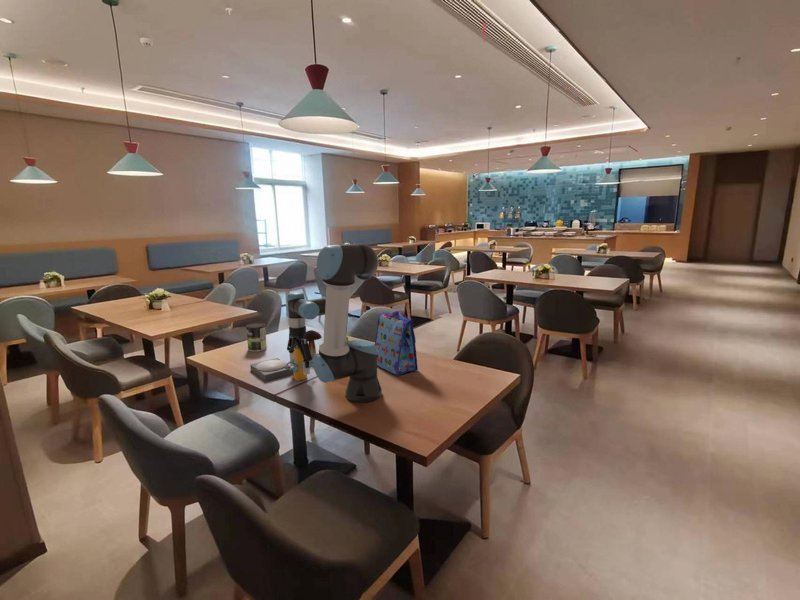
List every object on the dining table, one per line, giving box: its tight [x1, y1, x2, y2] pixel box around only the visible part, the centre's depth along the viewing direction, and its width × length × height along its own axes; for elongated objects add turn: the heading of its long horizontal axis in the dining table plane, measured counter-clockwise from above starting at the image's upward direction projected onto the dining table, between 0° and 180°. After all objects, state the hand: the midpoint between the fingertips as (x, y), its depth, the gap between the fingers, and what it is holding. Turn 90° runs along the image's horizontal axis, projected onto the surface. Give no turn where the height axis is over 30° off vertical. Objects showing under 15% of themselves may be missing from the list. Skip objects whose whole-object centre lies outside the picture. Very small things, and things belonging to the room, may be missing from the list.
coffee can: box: [245, 322, 268, 353], centre depth 226 cm, size 10×10×14 cm
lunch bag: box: [374, 310, 419, 377], centre depth 196 cm, size 22×14×29 cm, turn 37°
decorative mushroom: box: [304, 329, 323, 358], centre depth 212 cm, size 11×11×15 cm
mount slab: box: [249, 357, 293, 382], centre depth 193 cm, size 18×14×4 cm
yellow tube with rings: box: [286, 346, 313, 381], centre depth 185 cm, size 12×10×15 cm
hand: (299, 369), depth 185 cm, fingers open, 13 cm apart
